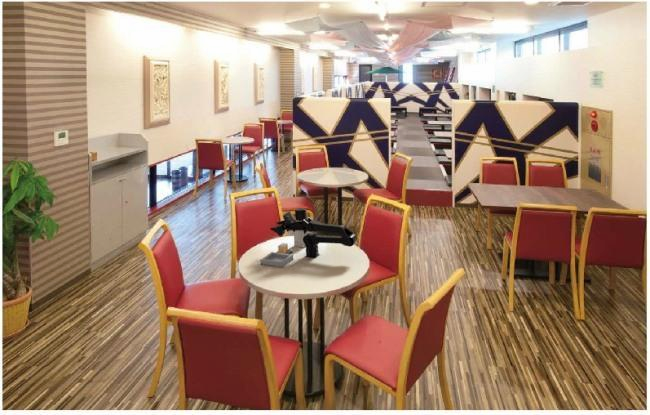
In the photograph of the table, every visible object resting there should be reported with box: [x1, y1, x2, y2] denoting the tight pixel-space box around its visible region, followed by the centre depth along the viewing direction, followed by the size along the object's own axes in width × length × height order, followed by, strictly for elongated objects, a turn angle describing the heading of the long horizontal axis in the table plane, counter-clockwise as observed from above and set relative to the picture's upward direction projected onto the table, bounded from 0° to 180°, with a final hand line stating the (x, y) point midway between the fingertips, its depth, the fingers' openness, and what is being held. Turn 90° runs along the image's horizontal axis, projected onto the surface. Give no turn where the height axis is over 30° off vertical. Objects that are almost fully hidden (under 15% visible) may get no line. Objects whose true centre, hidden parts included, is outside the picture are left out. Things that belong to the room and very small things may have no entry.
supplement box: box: [293, 231, 310, 248], centre depth 328 cm, size 7×7×13 cm
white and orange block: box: [277, 242, 289, 254], centre depth 313 cm, size 4×6×6 cm, turn 158°
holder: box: [275, 249, 293, 255], centre depth 314 cm, size 8×10×1 cm
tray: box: [260, 251, 294, 269], centre depth 300 cm, size 14×14×3 cm
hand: (273, 225), depth 315 cm, fingers open, 9 cm apart
